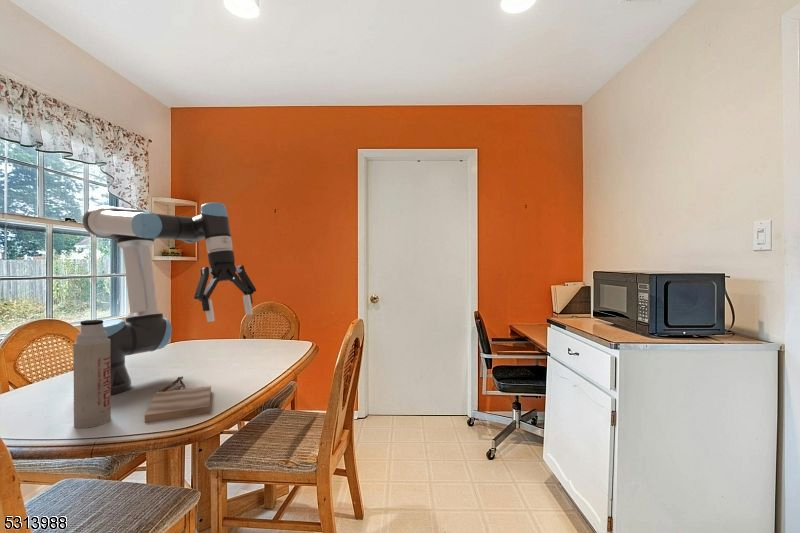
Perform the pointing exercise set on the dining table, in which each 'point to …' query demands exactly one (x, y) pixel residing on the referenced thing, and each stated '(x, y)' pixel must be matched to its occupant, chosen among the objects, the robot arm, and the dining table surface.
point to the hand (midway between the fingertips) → (231, 318)
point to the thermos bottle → (92, 375)
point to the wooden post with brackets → (173, 385)
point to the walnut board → (179, 403)
